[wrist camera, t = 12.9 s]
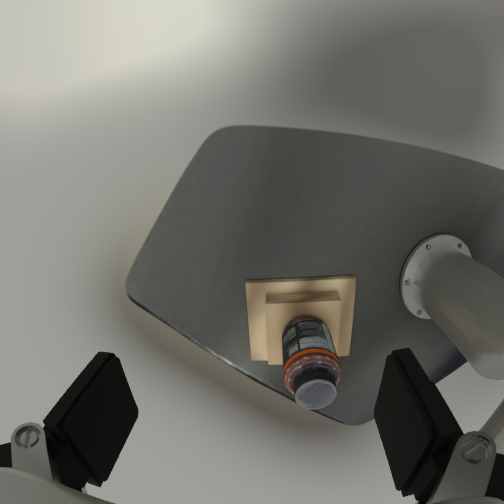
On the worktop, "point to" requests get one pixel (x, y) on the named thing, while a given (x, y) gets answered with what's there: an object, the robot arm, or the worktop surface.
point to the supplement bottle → (310, 362)
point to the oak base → (297, 286)
